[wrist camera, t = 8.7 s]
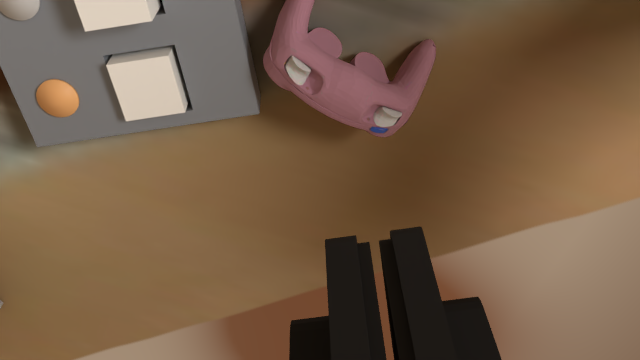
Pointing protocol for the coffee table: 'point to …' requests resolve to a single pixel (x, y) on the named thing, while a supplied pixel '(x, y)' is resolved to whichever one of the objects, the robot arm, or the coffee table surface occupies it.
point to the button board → (99, 45)
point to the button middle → (115, 12)
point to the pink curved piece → (344, 74)
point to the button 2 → (149, 82)
